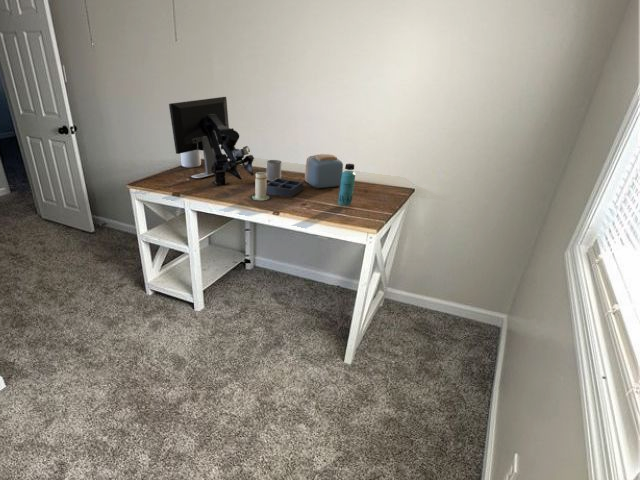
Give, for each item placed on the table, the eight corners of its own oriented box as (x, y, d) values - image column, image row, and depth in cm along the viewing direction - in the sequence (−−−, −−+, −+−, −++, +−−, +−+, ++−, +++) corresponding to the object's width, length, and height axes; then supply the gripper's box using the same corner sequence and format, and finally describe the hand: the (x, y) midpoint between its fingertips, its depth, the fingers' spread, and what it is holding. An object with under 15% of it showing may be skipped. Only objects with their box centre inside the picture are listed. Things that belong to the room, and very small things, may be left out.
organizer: (263, 193, 218) (263, 185, 216) (276, 185, 229) (276, 177, 227) (290, 198, 211) (290, 189, 209) (302, 190, 223) (303, 181, 220)
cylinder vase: (202, 163, 272) (200, 122, 259) (199, 168, 261) (196, 125, 248) (183, 162, 273) (180, 121, 260) (179, 167, 262) (176, 125, 249)
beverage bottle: (335, 204, 203) (340, 162, 193) (349, 203, 204) (354, 162, 193) (339, 208, 198) (344, 166, 187) (353, 208, 198) (359, 165, 188)
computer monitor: (227, 166, 264) (221, 96, 245) (237, 167, 259) (231, 96, 240) (177, 180, 239) (166, 103, 220) (186, 181, 234) (176, 103, 215)
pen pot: (253, 196, 213) (253, 172, 207) (264, 195, 215) (264, 171, 208) (257, 199, 209) (257, 175, 202) (267, 198, 210) (268, 174, 204)
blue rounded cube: (328, 178, 240) (331, 150, 232) (343, 186, 227) (346, 156, 218) (302, 181, 236) (305, 152, 227) (315, 189, 223) (318, 159, 214)
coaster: (248, 196, 214) (248, 196, 213) (263, 194, 217) (263, 193, 217) (257, 202, 207) (257, 201, 207) (272, 199, 210) (272, 198, 210)
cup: (279, 182, 235) (280, 163, 230) (265, 181, 237) (265, 163, 231) (281, 177, 242) (282, 160, 237) (267, 177, 244) (267, 159, 238)
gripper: (226, 144, 200) (243, 171, 200) (251, 138, 212) (267, 164, 211) (215, 158, 209) (231, 184, 208) (240, 151, 220) (255, 176, 220)
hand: (247, 177), depth 212 cm, fingers open, 9 cm apart
